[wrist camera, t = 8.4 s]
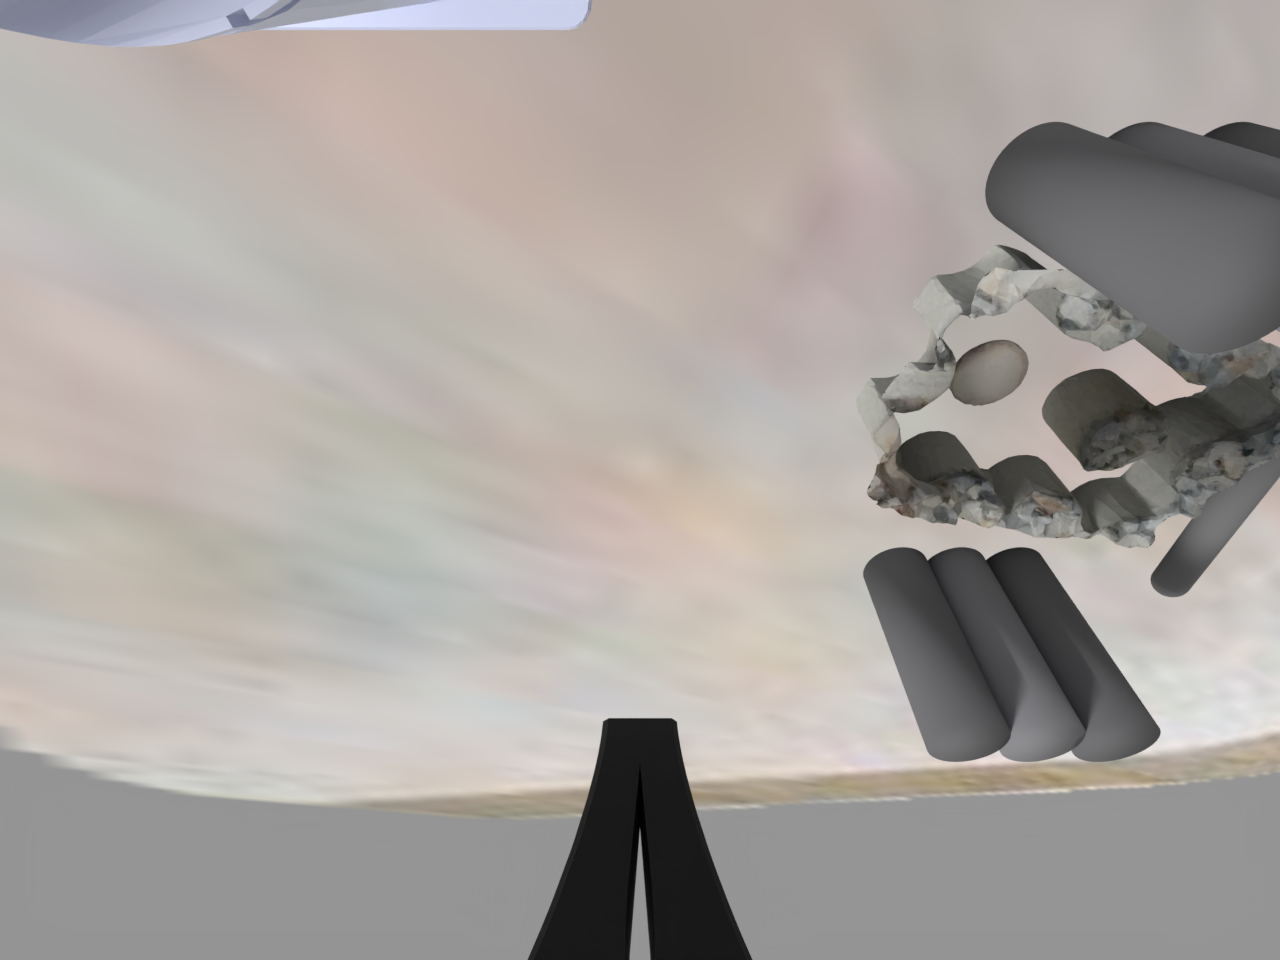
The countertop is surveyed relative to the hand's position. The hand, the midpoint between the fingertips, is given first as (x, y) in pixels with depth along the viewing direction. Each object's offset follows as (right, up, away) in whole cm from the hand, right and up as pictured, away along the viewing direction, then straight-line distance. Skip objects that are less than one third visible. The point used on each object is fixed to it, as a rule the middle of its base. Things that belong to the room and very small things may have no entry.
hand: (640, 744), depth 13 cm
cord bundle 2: (+12, +13, +3) cm, 18 cm away
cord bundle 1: (+12, +2, +12) cm, 17 cm away
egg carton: (+12, +9, +7) cm, 17 cm away
